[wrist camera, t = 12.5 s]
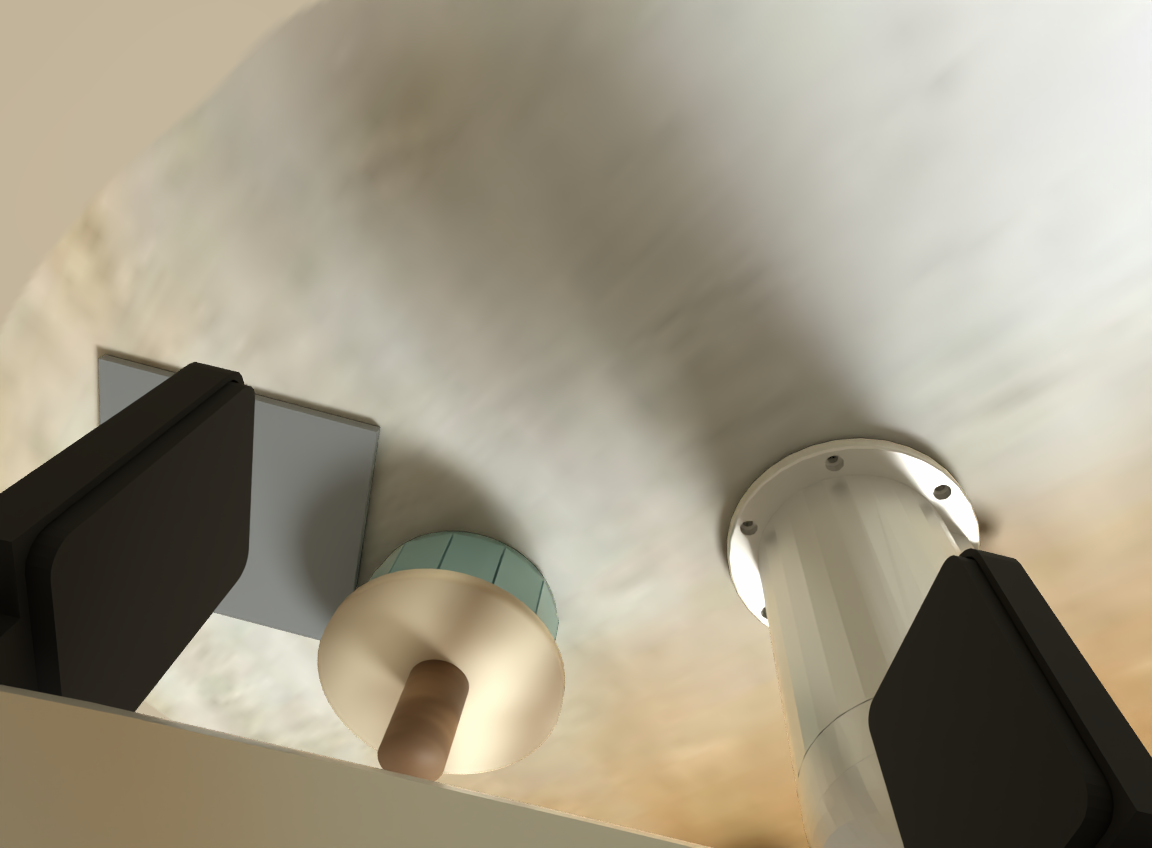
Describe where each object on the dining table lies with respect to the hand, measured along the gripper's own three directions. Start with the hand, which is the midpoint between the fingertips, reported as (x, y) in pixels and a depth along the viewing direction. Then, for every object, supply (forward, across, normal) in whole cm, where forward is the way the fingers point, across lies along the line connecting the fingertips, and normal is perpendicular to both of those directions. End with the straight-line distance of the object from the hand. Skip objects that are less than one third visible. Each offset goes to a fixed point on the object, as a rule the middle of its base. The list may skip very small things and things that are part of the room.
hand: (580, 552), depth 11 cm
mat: (+28, +18, +22) cm, 40 cm away
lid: (+23, +4, +26) cm, 35 cm away
